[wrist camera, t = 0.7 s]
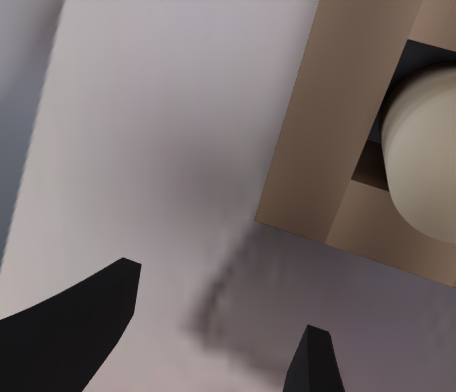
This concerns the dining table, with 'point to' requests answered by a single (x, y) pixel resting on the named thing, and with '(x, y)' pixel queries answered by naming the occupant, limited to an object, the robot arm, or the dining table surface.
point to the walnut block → (353, 136)
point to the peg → (423, 149)
